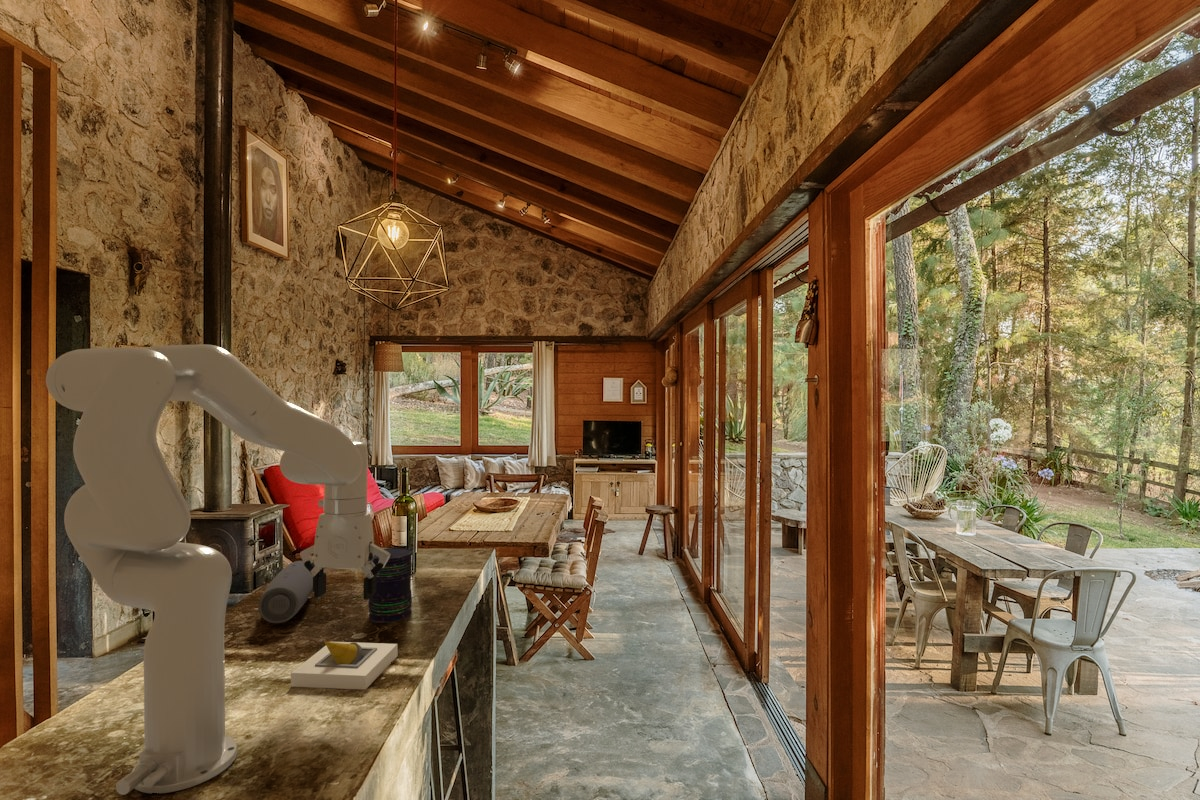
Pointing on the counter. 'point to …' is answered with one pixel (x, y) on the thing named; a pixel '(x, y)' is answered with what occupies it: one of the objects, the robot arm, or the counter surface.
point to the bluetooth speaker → (286, 593)
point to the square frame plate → (344, 668)
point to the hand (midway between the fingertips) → (344, 596)
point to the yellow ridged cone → (345, 652)
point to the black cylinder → (392, 588)
